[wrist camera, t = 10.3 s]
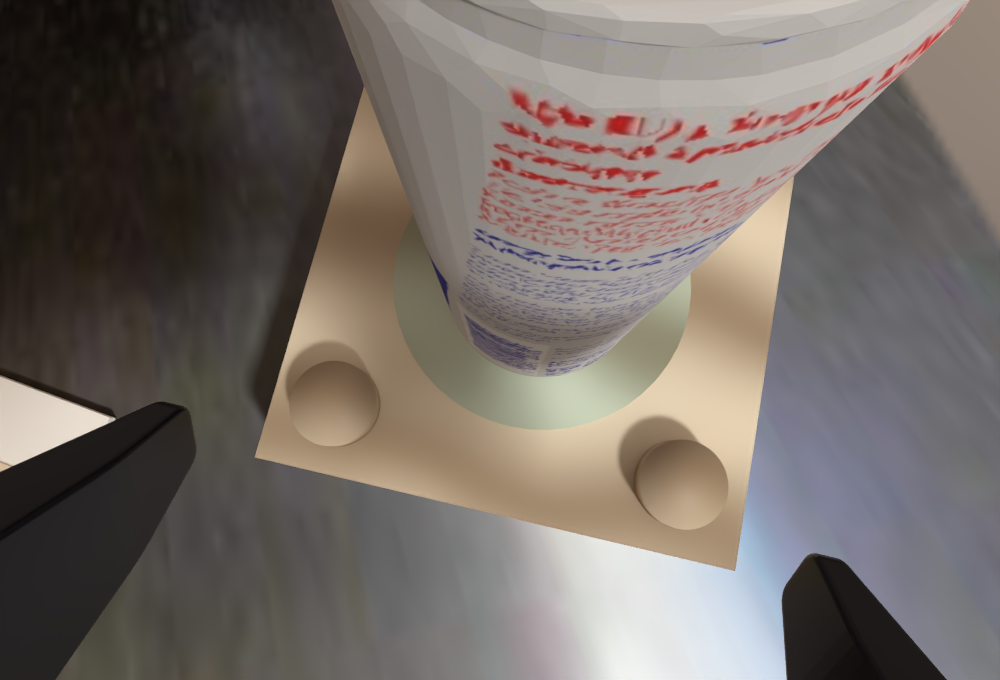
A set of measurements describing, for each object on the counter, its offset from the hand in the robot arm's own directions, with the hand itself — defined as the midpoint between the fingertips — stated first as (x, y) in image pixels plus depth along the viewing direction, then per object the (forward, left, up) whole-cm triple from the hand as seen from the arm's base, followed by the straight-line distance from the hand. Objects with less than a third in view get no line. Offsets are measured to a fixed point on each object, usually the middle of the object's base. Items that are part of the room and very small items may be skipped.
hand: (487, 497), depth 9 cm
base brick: (+5, +3, -11) cm, 13 cm away
